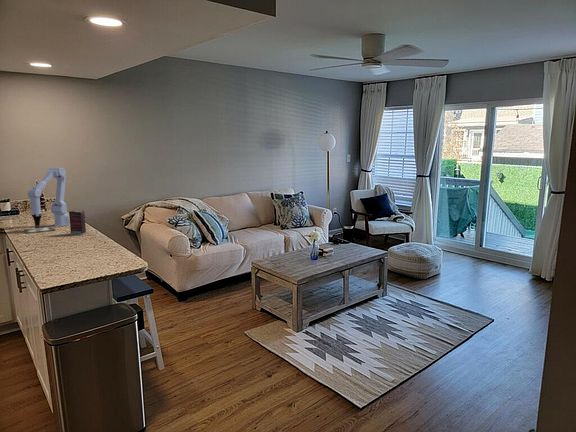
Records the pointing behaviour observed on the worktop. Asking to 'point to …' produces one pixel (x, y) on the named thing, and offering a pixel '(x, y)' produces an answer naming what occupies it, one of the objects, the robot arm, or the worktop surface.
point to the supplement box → (77, 222)
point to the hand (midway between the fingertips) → (37, 224)
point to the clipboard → (39, 230)
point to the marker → (36, 226)
